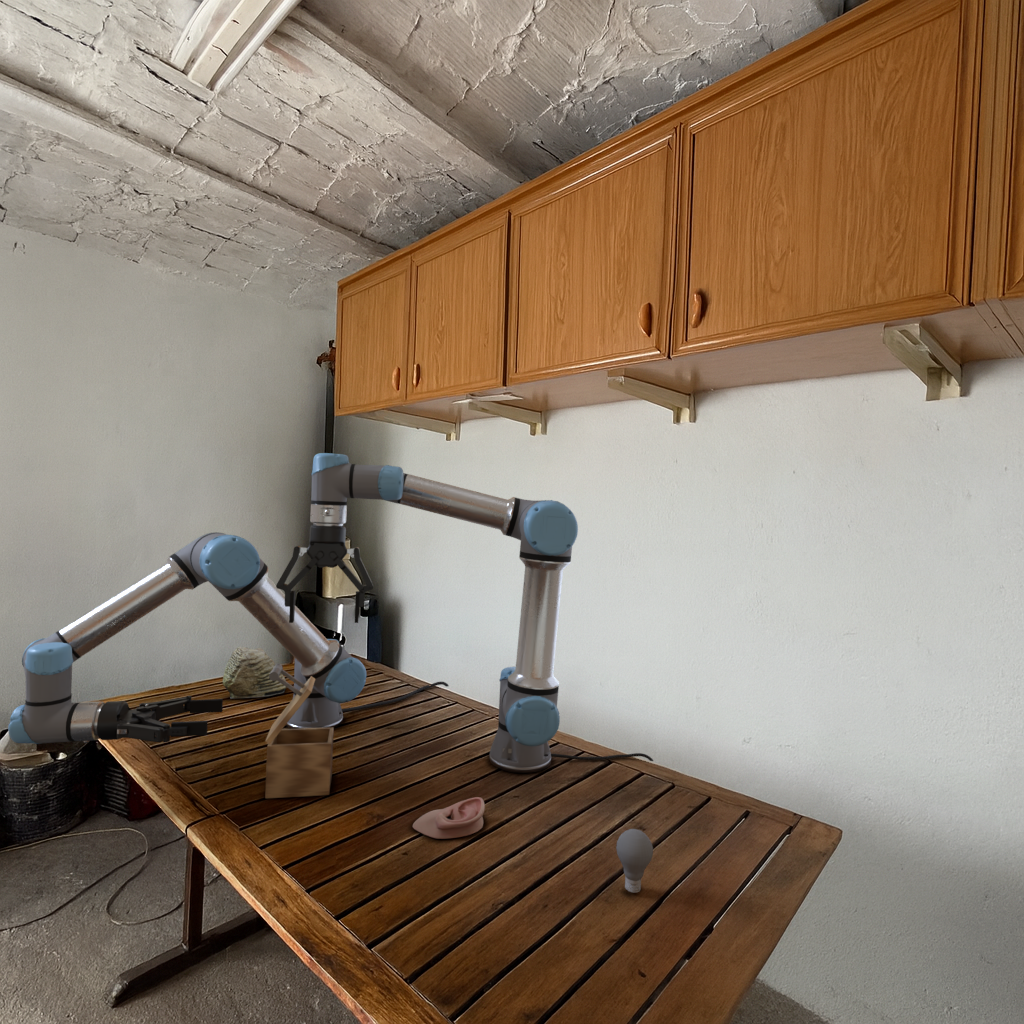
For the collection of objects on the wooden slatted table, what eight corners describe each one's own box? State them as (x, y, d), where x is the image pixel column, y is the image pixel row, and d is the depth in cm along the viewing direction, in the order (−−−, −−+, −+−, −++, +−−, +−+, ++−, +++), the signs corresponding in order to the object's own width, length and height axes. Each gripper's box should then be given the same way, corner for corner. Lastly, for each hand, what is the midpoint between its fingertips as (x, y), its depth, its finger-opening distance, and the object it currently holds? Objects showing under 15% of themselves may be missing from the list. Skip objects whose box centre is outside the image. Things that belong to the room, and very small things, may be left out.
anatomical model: (407, 813, 120) (427, 787, 131) (406, 834, 120) (426, 806, 131) (475, 823, 117) (489, 796, 129) (474, 845, 117) (488, 815, 129)
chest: (331, 775, 144) (333, 727, 144) (329, 794, 135) (331, 743, 135) (272, 778, 141) (274, 729, 141) (265, 798, 132) (267, 746, 132)
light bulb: (610, 879, 108) (613, 822, 108) (644, 879, 109) (647, 822, 109) (619, 902, 102) (622, 840, 102) (655, 901, 103) (658, 840, 103)
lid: (315, 678, 143) (282, 655, 141) (311, 691, 133) (275, 667, 132) (276, 727, 141) (242, 704, 140) (269, 744, 132) (232, 720, 130)
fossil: (218, 695, 195) (220, 647, 195) (278, 685, 208) (279, 640, 207) (228, 703, 189) (230, 653, 188) (289, 692, 201) (290, 645, 201)
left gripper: (125, 717, 141) (227, 713, 146) (74, 764, 117) (199, 758, 122) (125, 684, 141) (228, 681, 146) (75, 724, 117) (200, 719, 121)
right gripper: (264, 523, 131) (261, 625, 132) (387, 527, 137) (383, 625, 137) (270, 521, 139) (266, 618, 139) (386, 525, 144) (382, 618, 145)
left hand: (215, 716), depth 134 cm, fingers open, 13 cm apart
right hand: (324, 621), depth 138 cm, fingers open, 13 cm apart
